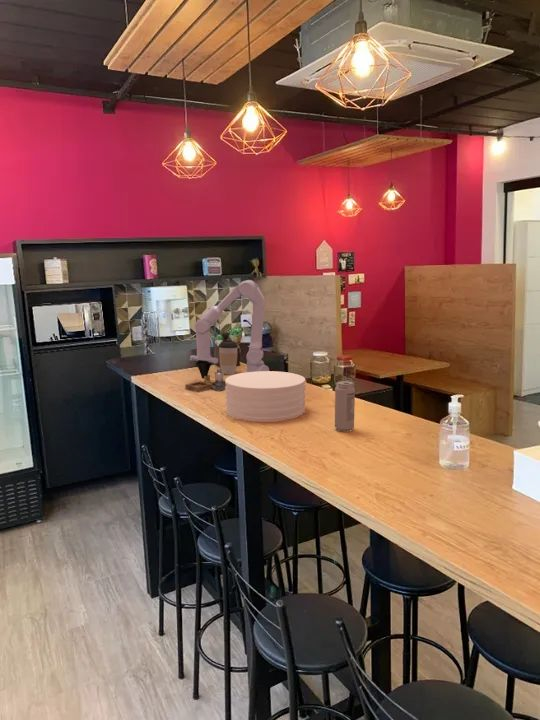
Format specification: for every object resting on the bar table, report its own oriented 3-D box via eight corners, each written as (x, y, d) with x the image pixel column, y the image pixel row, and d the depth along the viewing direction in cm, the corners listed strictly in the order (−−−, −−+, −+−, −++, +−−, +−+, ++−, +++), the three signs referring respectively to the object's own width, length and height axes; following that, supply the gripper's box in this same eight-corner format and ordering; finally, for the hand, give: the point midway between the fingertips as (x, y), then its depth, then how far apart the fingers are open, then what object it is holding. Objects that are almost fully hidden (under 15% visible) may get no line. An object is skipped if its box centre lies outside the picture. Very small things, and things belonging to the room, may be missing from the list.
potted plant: (212, 364, 283) (211, 329, 280) (232, 362, 288) (232, 327, 285) (223, 369, 269) (222, 332, 266) (244, 367, 274) (244, 331, 271)
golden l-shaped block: (218, 385, 236) (218, 377, 235) (213, 386, 234) (213, 377, 234) (208, 383, 240) (208, 375, 239) (204, 384, 238) (204, 376, 238)
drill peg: (225, 386, 234) (224, 369, 232) (219, 387, 231) (218, 370, 230) (219, 385, 236) (219, 368, 235) (213, 386, 234) (213, 369, 232)
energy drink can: (341, 425, 178) (341, 379, 175) (357, 428, 174) (358, 382, 172) (330, 430, 174) (331, 383, 171) (347, 433, 170) (348, 385, 167)
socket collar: (239, 386, 234) (239, 384, 234) (218, 391, 225) (218, 389, 225) (220, 382, 242) (220, 380, 242) (199, 386, 233) (199, 385, 233)
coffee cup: (237, 375, 257) (238, 343, 254) (218, 374, 256) (218, 342, 253) (237, 370, 266) (238, 339, 263) (218, 370, 265) (218, 339, 262)
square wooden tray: (212, 388, 230) (212, 384, 229) (197, 392, 224) (197, 387, 224) (200, 385, 235) (200, 381, 235) (185, 389, 229) (185, 384, 229)
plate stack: (210, 409, 199) (209, 378, 197) (270, 396, 216) (270, 368, 214) (259, 427, 178) (259, 392, 176) (321, 411, 195) (321, 379, 193)
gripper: (222, 347, 236) (223, 378, 239) (197, 344, 245) (198, 374, 247) (211, 349, 231) (212, 381, 233) (186, 346, 239) (187, 377, 242)
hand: (204, 378), depth 240 cm, fingers closed
